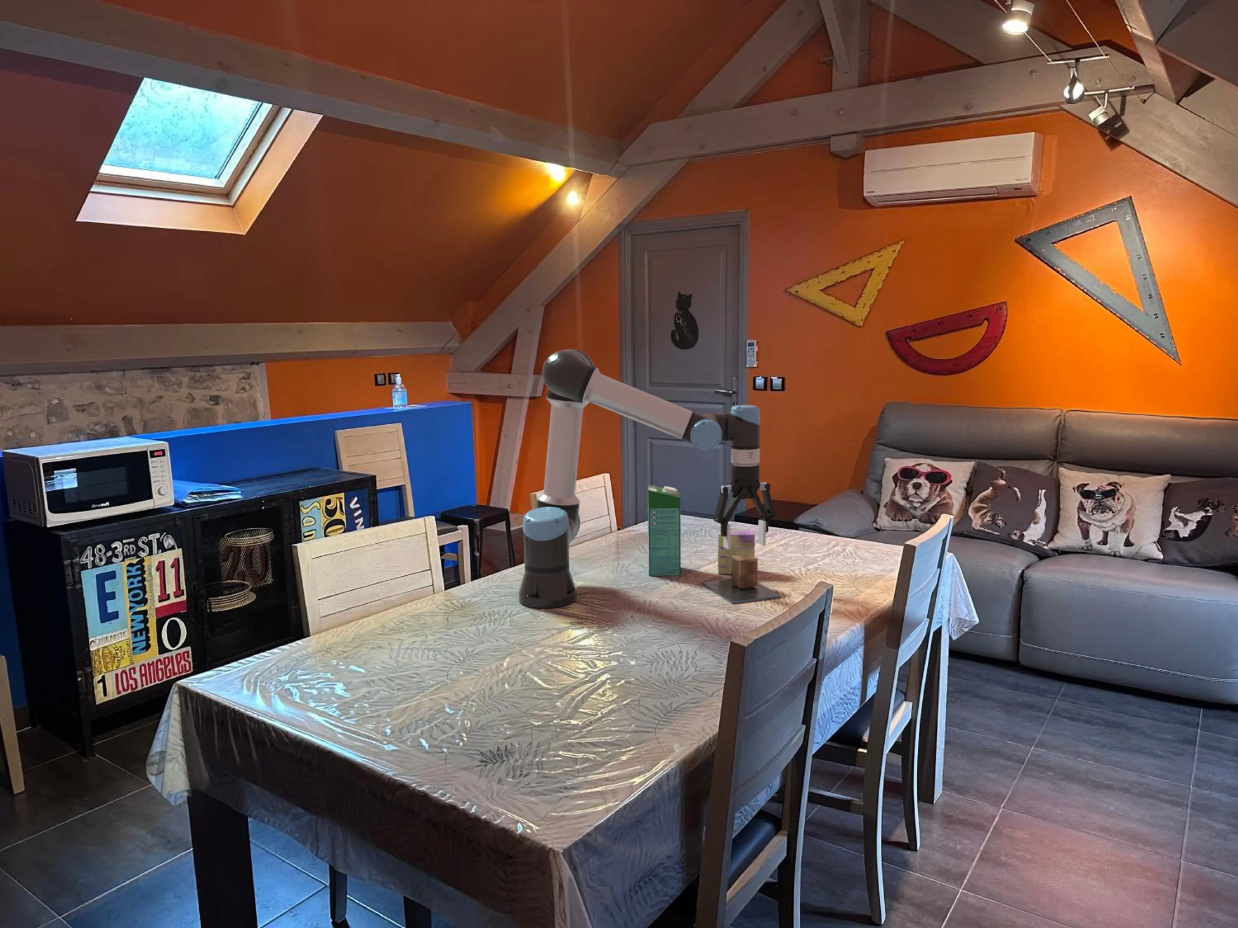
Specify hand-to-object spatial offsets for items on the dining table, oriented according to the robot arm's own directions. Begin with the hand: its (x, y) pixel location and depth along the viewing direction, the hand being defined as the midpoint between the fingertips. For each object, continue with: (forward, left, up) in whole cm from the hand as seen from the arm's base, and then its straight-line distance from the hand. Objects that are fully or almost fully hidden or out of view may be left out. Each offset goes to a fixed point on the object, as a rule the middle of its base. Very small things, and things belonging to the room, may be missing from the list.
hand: (744, 546), depth 230 cm
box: (+5, +15, -12) cm, 20 cm away
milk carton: (-14, +23, -12) cm, 29 cm away
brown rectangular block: (0, 0, -11) cm, 11 cm away
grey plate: (-2, -2, -12) cm, 12 cm away
